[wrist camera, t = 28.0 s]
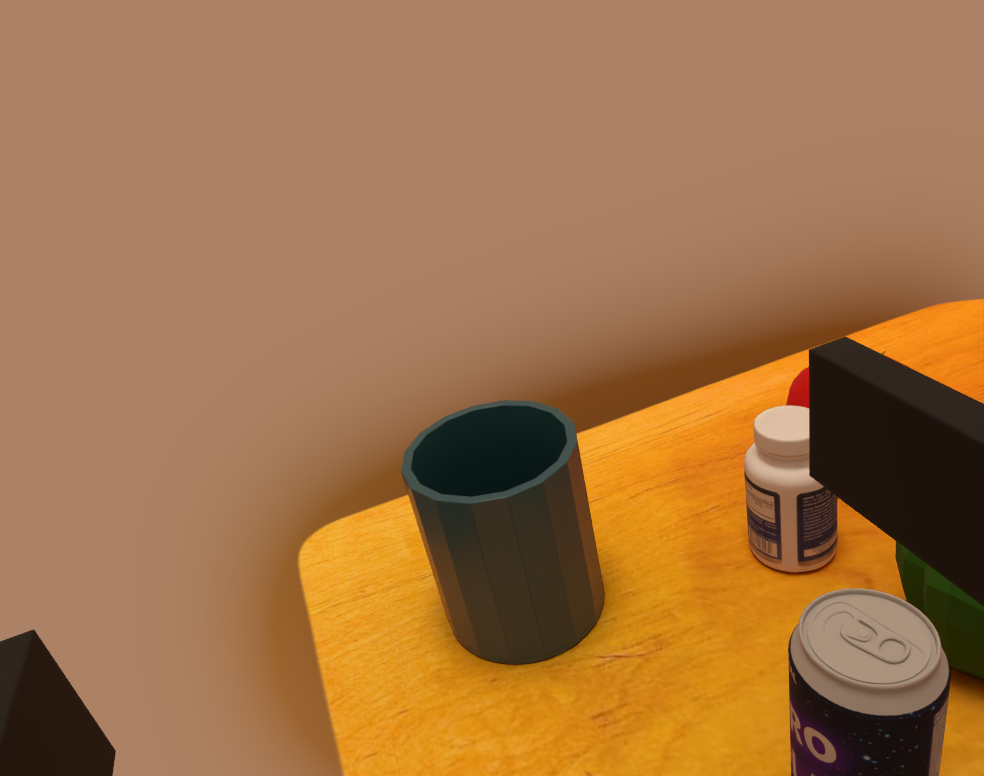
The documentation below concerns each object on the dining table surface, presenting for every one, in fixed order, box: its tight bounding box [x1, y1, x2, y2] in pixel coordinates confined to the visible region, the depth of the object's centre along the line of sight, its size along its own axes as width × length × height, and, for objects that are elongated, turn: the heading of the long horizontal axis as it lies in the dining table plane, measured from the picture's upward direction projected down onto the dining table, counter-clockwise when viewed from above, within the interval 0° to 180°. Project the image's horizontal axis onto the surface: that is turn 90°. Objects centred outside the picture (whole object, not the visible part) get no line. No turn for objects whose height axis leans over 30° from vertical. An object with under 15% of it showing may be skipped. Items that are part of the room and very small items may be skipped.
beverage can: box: [788, 588, 951, 776], centre depth 32 cm, size 6×6×12 cm
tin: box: [401, 400, 604, 664], centre depth 48 cm, size 10×10×12 cm
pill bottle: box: [744, 405, 837, 572], centre depth 48 cm, size 5×5×10 cm
